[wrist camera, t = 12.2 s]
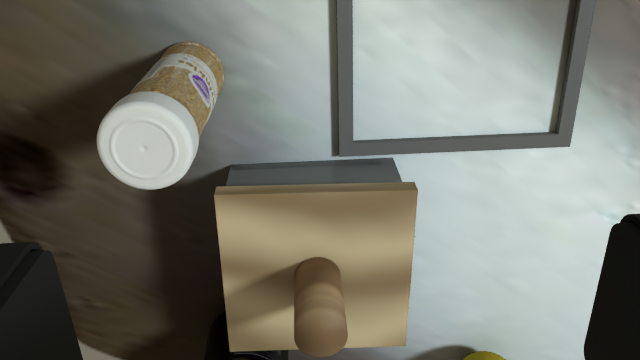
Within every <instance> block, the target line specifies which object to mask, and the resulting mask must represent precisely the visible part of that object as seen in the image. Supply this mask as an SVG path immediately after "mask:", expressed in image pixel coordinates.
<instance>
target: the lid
mask: <svg viewBox="0 0 640 360" xmlns="http://www.w3.org/2000/svg"><path fill="white" fill-rule="evenodd" d="M417 195H418V189H417V187H416V185H415V182H390V183H347V184H305V185H262V186H219V187H216V190H215V193H214V200H215V209H216V219H217V229H218V239H219V249H220V259H221V269H222V279H223V288H224V298H225V308H226V318H227V328H228V338H229V348H230V352H236V351H267V350H297V349H300V350H301V351H302V352H303V353H305V354H307V355H310V356H314V357H326V356H330V355H333V354H335V353H337V352H338V351H340V350H341V349H342V348H358V347H388V346H406V335H407V322H408V309H409V296H410V284H411V271H412V258H413V246H414V233H415V220H416V207H417Z"/></svg>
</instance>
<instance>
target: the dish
mask: <svg viewBox="0 0 640 360" xmlns="http://www.w3.org/2000/svg"><path fill="white" fill-rule="evenodd" d="M390 182H402V180H401V178H400V175H399V172H398V170H397V167H396V165H395V162H394V160H393V158H376V159H353V160H330V161H307V162H285V163H262V164H239V165H231V167H230V171H229V175H228V179H227V183H226V186H262V185H305V184H347V183H390Z"/></svg>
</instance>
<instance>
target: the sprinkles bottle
mask: <svg viewBox="0 0 640 360" xmlns="http://www.w3.org/2000/svg"><path fill="white" fill-rule="evenodd" d="M223 85H224V70H223V66H222V63H221V61H220V59H219V58H218V56H217V55H216V54H215V53H214V52H213V51H212V50H211V49H209V48H208V47H206V46H204V45H202V44H199V43H197V42H182V43H178V44H175V45H173V46H171V47H169V48H168V49H167V50H166V52H165V53H164V54H163V55H162V56H161V58H160V60H159V61H158V62H157V63H156V64H155V65H154V66H153V67H152V68H151V69H150V70H149V71H148V73H147V74H146V75H145V76H144V77H143V78H142V79H141V80H140V82H139V83H138V84H137V85H136V86H135V87H134V88H133V90H132V91H131V93H130V94H129V95H127V96H126V97H124V98H122V99H120V100H119V101H118V102H117V103H116V104H115V105H114V106H113V107H112V108H111V109H110V111H109V112H108V113H107V114H106V115H105V117H104V118H103V120H102V121H101V123H100V126H99V129H98V133H97V149H98V153H99V156H100V158H101V160H102V162H103V164H104V165H105V167H106V168H107V169H108V171H109V172H110V173H111V174H112V175H113V176H115V177H116V178H117V179H118V180H120V181H122V182H123V183H125V184H127V185H130V186H132V187H135V188H139V189H147V190H154V189H161V188H164V187H168V186H170V185H172V184H174V183H176V182H177V181H178V180H180V179H181V178H182V177H183V176H184V175H185V174H186V172H187V171H188V169H189V168H190V166H191V164H192V162H193V160H194V158H195V155H196V153H197V150H198V144H199V137H200V135H201V132H202V130H203V128H204V125H205V124H206V123H207V121H208V119H209V117H210V114H211V112H212V110H213V108H214V105H215V103H216V99H217V96H218V95H219V94H220V92H221V90H222V87H223Z"/></svg>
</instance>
